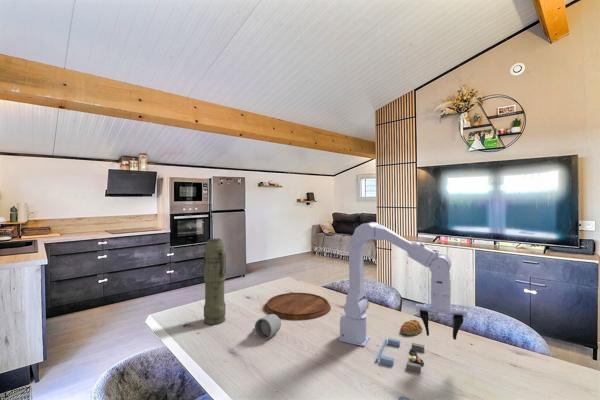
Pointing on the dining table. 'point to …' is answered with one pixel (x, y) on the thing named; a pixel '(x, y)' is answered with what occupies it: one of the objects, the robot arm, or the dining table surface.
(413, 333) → the pastry
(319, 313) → the cutting board
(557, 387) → the dining table surface
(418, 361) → the composite cable
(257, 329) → the ceramic mug
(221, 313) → the thermos
